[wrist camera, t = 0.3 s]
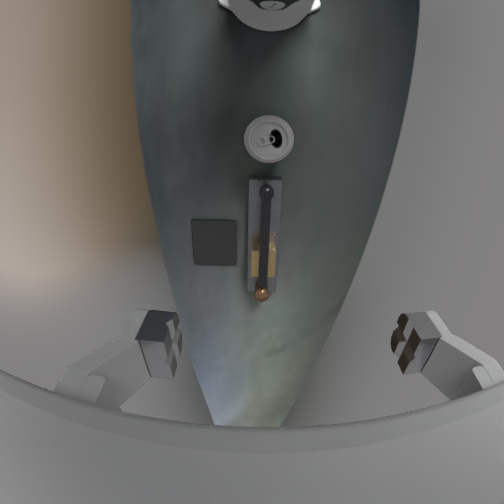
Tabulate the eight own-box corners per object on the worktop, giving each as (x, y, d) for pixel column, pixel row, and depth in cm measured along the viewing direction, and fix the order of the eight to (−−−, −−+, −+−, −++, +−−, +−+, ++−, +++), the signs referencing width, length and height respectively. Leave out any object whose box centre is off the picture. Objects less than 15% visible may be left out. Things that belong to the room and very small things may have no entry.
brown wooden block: (251, 241, 56) (251, 250, 52) (275, 242, 56) (276, 251, 52) (251, 266, 58) (250, 276, 55) (273, 266, 58) (274, 277, 55)
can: (289, 151, 51) (298, 161, 40) (249, 157, 51) (248, 168, 41) (283, 113, 47) (291, 111, 37) (243, 118, 48) (239, 119, 37)
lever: (259, 184, 46) (259, 185, 45) (273, 184, 46) (274, 186, 45) (256, 283, 55) (256, 286, 54) (268, 283, 55) (268, 287, 54)
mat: (191, 219, 57) (191, 220, 57) (236, 220, 57) (235, 221, 57) (195, 262, 62) (194, 264, 61) (236, 264, 62) (236, 265, 61)
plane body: (249, 176, 53) (248, 184, 46) (281, 177, 53) (284, 186, 46) (247, 285, 64) (246, 305, 57) (274, 286, 64) (276, 305, 57)
